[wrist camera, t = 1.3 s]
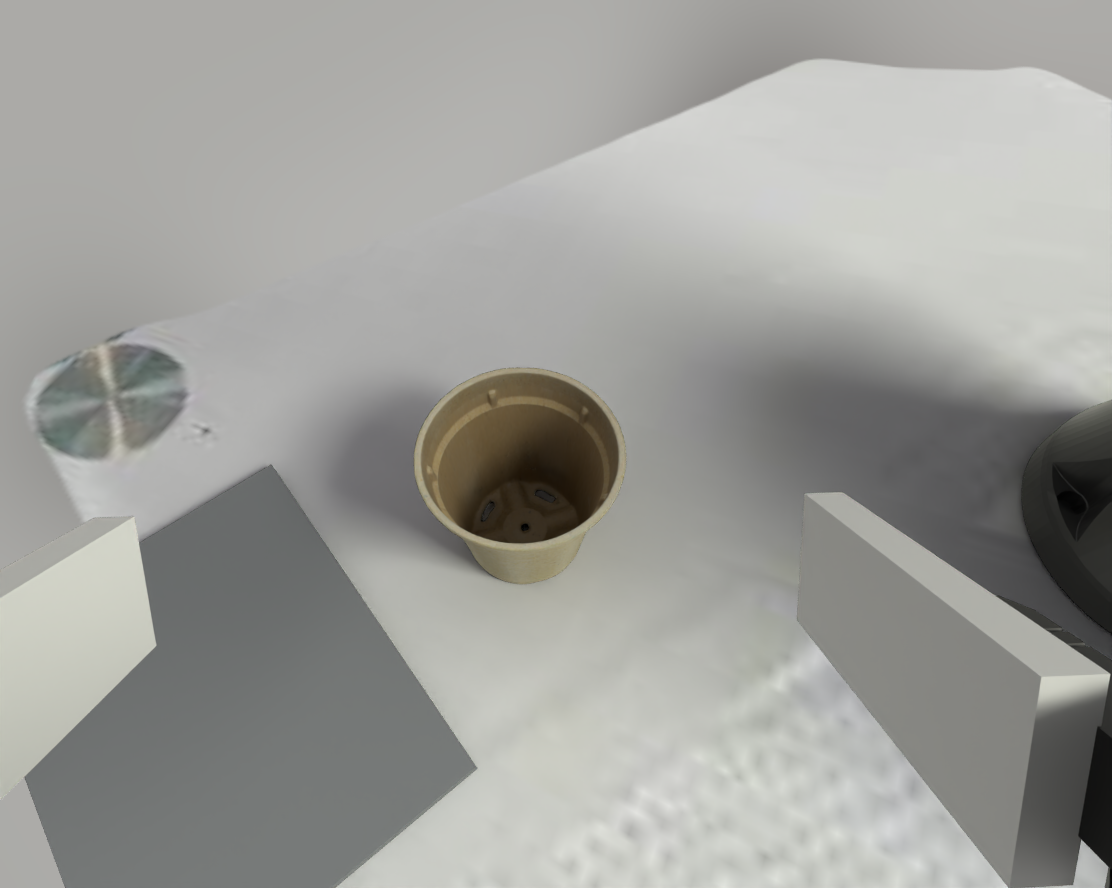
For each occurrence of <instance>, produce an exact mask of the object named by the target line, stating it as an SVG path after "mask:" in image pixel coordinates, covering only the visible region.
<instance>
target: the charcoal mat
mask: <svg viewBox="0 0 1112 888" xmlns="http://www.w3.org/2000/svg"><path fill="white" fill-rule="evenodd" d="M139 547H140V552H141V558H142V564H143V570H144V576H145V582H146V588H147V594H148V599H149V605H150V611H151V617H152V623H153V629H154V635H155V641H156V647H155V648H154V649H153V650H152V651H151V652H150V653H149V654H148V655H147V656H146V657H145V658H144V659H143V660H142V661H141V662H140V663H139V664H138V665H136V666H135V667H134V668H133V669H132V670H131V671H130V672H129V673H128V674H127V675H126V676H125V677H124V678H123V679H122V680H121V681H120V682H119V683H118V684H117V685H116V686H115V687H114V688H113V689H112V690H111V691H110V692H109V693H108V694H107V695H106V696H105V697H104V698H103V699H102V700H101V701H100V702H99V703H98V704H97V705H96V706H95V707H94V708H93V709H92V710H91V711H90V712H89V713H88V714H87V715H86V716H85V717H84V718H83V719H82V720H81V721H80V722H79V723H78V724H77V725H76V726H75V727H74V728H73V729H72V730H71V731H70V732H69V733H68V734H67V735H66V736H65V737H64V738H63V739H62V740H61V741H60V742H59V743H58V744H57V745H56V746H55V747H54V748H53V749H52V750H51V751H50V752H49V753H48V754H47V755H46V756H45V757H44V758H43V759H42V760H41V761H40V762H39V763H38V764H37V765H36V766H35V767H34V768H33V769H32V770H31V771H30V772H29V773H28V774H27V775H26V776H25V780H26V782H27V785H28V788H29V791H30V794H31V796H32V799H33V801H34V804H35V807H36V810H37V813H38V815H39V818H40V821H41V823H42V826H43V829H44V832H45V834H46V837H47V840H48V842H49V845H50V847H51V851H52V853H53V856H54V859H55V861H56V864H57V867H58V869H59V872H60V875H61V878H62V880H63V883H64V886H65V888H335V887H336V886H337V885H339V884H340V883H341V882H342V881H343V880H345V879H346V878H347V877H348V876H349V875H351V874H352V873H353V872H354V871H355V870H357V869H358V868H359V867H360V866H361V865H363V864H364V863H365V862H366V861H367V860H369V859H370V858H371V857H372V856H373V855H375V854H376V853H377V852H378V851H379V850H381V849H382V848H383V847H384V846H385V845H387V844H388V843H389V842H390V841H391V840H393V839H394V838H395V837H396V836H397V835H398V834H400V833H401V832H402V831H403V830H404V829H406V828H407V827H408V826H409V825H410V824H412V823H413V822H414V821H415V820H416V819H418V818H419V817H420V816H421V815H422V814H424V813H425V812H426V811H427V810H428V809H430V808H431V807H432V806H433V805H434V804H436V803H437V802H438V801H439V800H440V799H442V798H443V797H444V796H445V795H446V794H448V793H449V792H450V791H451V790H452V789H454V788H455V787H456V786H457V785H458V784H459V783H461V782H462V781H463V780H464V779H465V778H467V777H468V776H469V775H470V774H471V773H473V772H474V771H475V770H476V769H477V767H476V766H475V764H474V763H473V761H472V760H471V758H470V757H469V755H468V754H467V752H466V751H465V749H464V748H463V747H462V745H461V744H460V742H459V741H458V739H457V738H456V736H455V735H454V733H453V732H452V730H451V729H450V727H449V726H448V724H447V723H446V721H445V720H444V718H443V717H442V716H441V714H440V713H439V711H438V710H437V708H436V707H435V705H434V704H433V702H432V701H431V699H430V698H429V696H428V695H427V693H426V692H425V690H424V689H423V687H422V686H421V685H420V683H419V682H418V680H417V679H416V677H415V676H414V674H413V673H412V671H411V670H410V668H409V667H408V665H407V664H406V662H405V661H404V659H403V658H402V656H401V655H400V653H399V652H398V651H397V649H396V648H395V646H394V645H393V643H392V642H391V640H390V639H389V637H388V636H387V634H386V633H385V631H384V630H383V628H382V627H381V625H380V624H379V622H378V621H377V620H376V618H375V617H374V615H373V614H372V612H371V611H370V609H369V608H368V606H367V605H366V603H365V602H364V600H363V599H362V597H361V596H360V594H359V593H358V591H357V590H356V589H355V587H354V586H353V584H352V583H351V581H350V580H349V578H348V577H347V575H346V574H345V572H344V571H343V569H342V568H341V566H340V565H339V563H338V562H337V560H336V559H335V558H334V556H333V555H332V553H331V552H330V550H329V549H328V547H327V546H326V544H325V543H324V541H323V540H322V538H321V537H320V535H319V534H318V532H317V531H316V529H315V528H314V527H313V525H312V524H311V522H310V521H309V519H308V518H307V516H306V515H305V513H304V512H303V510H302V509H301V507H300V506H299V504H298V503H297V501H296V500H295V498H294V497H293V496H292V494H291V493H290V491H289V490H288V488H287V487H286V485H285V484H284V482H283V481H282V479H281V478H280V476H279V475H278V473H277V472H276V470H275V469H274V468H273V466H272V465H270V466H268V467H266V468H264V469H263V470H261V471H259V472H258V473H256V474H254V475H253V476H251V477H249V478H248V479H246V480H244V481H243V482H241V483H239V484H238V485H236V486H234V487H233V488H231V489H229V490H227V491H226V492H224V493H222V494H221V495H219V496H217V497H216V498H214V499H212V500H211V501H209V502H207V503H206V504H204V505H202V506H201V507H199V508H197V509H196V510H194V511H192V512H191V513H189V514H187V515H185V516H184V517H182V518H180V519H179V520H177V521H175V522H174V523H172V524H170V525H169V526H167V527H165V528H164V529H162V530H160V531H159V532H157V533H155V534H154V535H152V536H150V537H149V538H147V539H145V540H143V541H142V542H140V543H139Z"/></svg>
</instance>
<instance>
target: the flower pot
mask: <svg viewBox="0 0 1112 888" xmlns="http://www.w3.org/2000/svg"><path fill="white" fill-rule="evenodd" d="M625 447H626V446H625V441H624V437H623V434H622V431H621V428H620V426H619V423H618V421H617V420H616V418H615V416H614V415H613V413H612V411H611V410H610V409H609V407H608V406H607V405H606V404H605V403H604V401H603V400H602V399H601V398H600V397H599V396H598V395H597V394H596V393H595V392H593V391H592V390H591V389H589V388H588V387H587V386H585V385H583V384H582V383H580V382H578V381H576V380H574V379H572V378H570V377H568V376H565V375H563V374H559V373H556V372H552V371H548V370H544V369H538V368H518V367H517V368H507V369H506V368H504V369H498V370H494V371H490V372H487V373H483V374H481V375H478V376H476V377H473V378H471V379H469V380H467V381H466V382H464V383H461V384H459V385H458V386H457V387H455V388H454V389H452V390H451V391H450V392H449V393H448V394H447V395H446V396H444V397H443V398H442V399H441V400H440V401H439V402H438V403H437V404H436V405H435V407H434V408H433V409H432V410H431V412H430V413H429V415H428V416H427V418H426V419H425V421H424V423H423V425H422V427H421V429H420V431H419V434H418V437H417V440H416V445H415V450H414V475H415V478H416V483H417V486H418V489H419V491H420V494H421V496H422V498H423V500H424V502H425V503H426V505H427V507H428V508H429V510H430V511H431V512H432V514H433V515H434V516H435V517H436V518H437V519H438V520H439V522H441V523H442V524H443V525H444V526H445V527H446V528H447V529H448V530H450V531H451V532H452V533H454V534H455V535H457V536H459V537H460V538H462V539H464V541H465V542H466V544H467V546H468V547H469V549H470V550H471V552H472V554H473V556H474V557H475V559H476V560H477V562H478V563H479V564H480V565H481V566H482V567H483V568H484V569H485V570H486V571H487V572H488V573H490V574H491V575H493V576H495V577H497V578H499V579H501V580H504V581H506V582H511V583H516V584H529V583H534V582H538V581H542V580H545V579H548V578H551V577H553V576H556V575H557V574H559V573H560V572H561V571H563V570H564V569H565V568H566V567H567V566H568V565H569V564H570V563H571V561H572V560H573V559H574V557H575V556H576V554H577V552H578V550H579V547H580V544H581V542H582V540H583V538H584V535H585V533H586V531H588V530H589V529H590V528H591V527H593V526H594V525H595V524H596V523H597V522H598V521H599V520H600V519H601V518H602V517H603V516H604V515H605V514H606V512H607V511H608V510H609V509H610V507H611V506H612V504H613V502H614V501H615V499H616V497H617V495H618V493H619V491H620V488H621V485H622V482H623V478H624V474H625V468H626V449H625ZM537 490H543V491H545V492H547V493H548V494H549V495H551V496H553V497H554V498H555V499H556V500H554V502H552V503H551V502H548V501H546V500H544V499H542V498H540V497H538V496H535V492H536V491H537ZM490 502H494V504H495V508H494V509H493V510H492V511H491V512H490V514H489V516H488V518H487V519H486V521H481V519H482V514H483V512H484V510H485V508H486V506H487V505H488V504H489V503H490ZM523 524H528V526H529V529H528V530H527V531H522V529H521V526H522V525H523Z"/></svg>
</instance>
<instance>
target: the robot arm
mask: <svg viewBox="0 0 1112 888" xmlns="http://www.w3.org/2000/svg"><path fill="white" fill-rule="evenodd" d="M1022 508H1023V513H1024V518H1025V522H1026V526H1027V529H1028V532H1029V535H1030V537H1031V540H1032V542H1033V544H1034V546H1035V548H1036V550H1037V552H1038V554H1039V556H1040V558H1041V560H1042V561H1043V563H1044V565H1045V566H1046V568H1047V569H1048V571H1049V572H1050V574H1051V575H1052V576H1053V578H1054V579H1055V580H1056V582H1057V583H1058V584H1059V585H1060V587H1061V588H1062V589H1063V590H1064V591H1065V593H1066V594H1067V595H1068V596H1069V597H1070V598H1071V599H1072V600H1073V601H1074V602H1075V603H1076V604H1077V605H1078V606H1079V607H1080V608H1081V609H1082V610H1083V611H1084V612H1085V613H1086V614H1088V615H1089V616H1090V617H1091V618H1092V619H1093V620H1094V621H1096V622H1097V623H1098V624H1100V625H1101V626H1102V627H1103V628H1105V629H1106V630H1107V631H1109V632H1110V633H1112V400H1109V401H1107V402H1104V403H1101V404H1098V405H1096V406H1093V407H1091V408H1088V409H1086V410H1084V411H1083V412H1081V413H1079V414H1077V415H1076V416H1074V417H1072V418H1071V419H1070V420H1068V421H1067V422H1066V423H1064V424H1063V425H1062V426H1061V427H1060V428H1059V429H1058V430H1056V431H1055V432H1054V433H1053V434H1052V435H1051V436H1050V437H1048V438H1047V439H1046V440H1045V441H1044V442H1043V443H1042V444H1041V445H1040V446H1039V447H1038V448H1037V449H1036V451H1035V452H1034V453H1033V455H1032V457H1031V458H1030V460H1029V462H1028V465H1027V467H1026V470H1025V473H1024V477H1023V483H1022ZM797 621H798V622H799V623H800V624H801V626H802V627H803V628H804V630H805V631H806V632H807V633H808V635H809V636H810V637H811V638H812V640H813V641H814V642H815V643H816V645H817V646H818V647H819V648H820V650H821V651H822V652H823V654H824V655H825V656H826V657H827V659H828V660H829V661H830V662H831V664H832V665H833V666H834V667H835V669H836V670H837V671H838V673H839V674H840V675H841V676H842V678H843V679H844V680H845V681H846V683H847V684H848V685H849V686H850V688H851V689H852V690H853V691H854V693H855V694H856V695H857V697H858V698H859V699H860V700H861V702H862V703H863V704H864V705H865V707H866V708H867V709H868V710H869V712H870V713H871V714H872V716H873V717H874V718H875V719H876V721H877V722H878V723H879V724H880V726H881V727H882V728H883V729H884V731H885V732H886V733H887V734H888V736H889V737H890V738H891V740H892V741H893V742H894V743H895V745H896V746H897V747H898V748H899V750H900V751H901V752H902V753H903V755H904V756H905V757H906V759H907V760H908V761H909V762H910V764H911V765H912V766H913V767H914V769H915V770H916V771H917V772H918V774H919V775H920V776H921V777H922V779H923V780H924V781H925V783H926V784H927V785H928V786H929V788H930V789H931V790H932V791H933V793H934V794H935V795H936V796H937V798H938V799H939V800H940V802H941V803H942V804H943V805H944V807H945V808H946V809H947V810H948V812H949V813H950V814H951V815H952V817H953V818H954V819H955V820H956V822H957V823H958V824H959V826H960V827H961V828H962V829H963V831H964V832H965V833H966V834H967V836H968V837H969V838H970V839H971V841H972V842H973V843H974V845H975V846H976V847H977V848H978V850H979V851H980V852H981V853H982V855H983V856H984V857H985V858H986V860H987V861H988V862H989V863H990V865H991V866H992V867H993V869H994V870H995V871H996V872H997V874H998V875H999V876H1000V877H1001V879H1002V880H1003V881H1004V882H1005V884H1006V885H1007V886H1008V888H1026V887H1044V886H1063V885H1073V882H1074V877H1075V871H1076V865H1077V860H1078V854H1079V849H1080V843H1081V839H1082V840H1083V841H1084V842H1085V843H1086V844H1087V845H1088V846H1089V847H1090V848H1091V849H1092V850H1093V851H1094V853H1095V854H1096V855H1097V856H1098V857H1099V858H1100V859H1101V860H1102V861H1103V862H1104V863H1105V864H1106V865H1107V866H1108V867H1109V868H1108V873H1107V879H1106V884H1105V888H1112V660H1110V659H1109V658H1107V657H1105V656H1104V655H1102V654H1101V653H1099V652H1098V651H1096V650H1095V649H1093V648H1092V647H1086V646H1085V643H1084V642H1083V641H1081V640H1079V639H1078V638H1076V637H1075V636H1073V635H1072V634H1070V633H1069V632H1063V631H1062V628H1061V627H1060V626H1058V625H1057V624H1055V623H1053V622H1052V621H1050V620H1049V619H1047V618H1046V617H1044V616H1043V615H1041V614H1040V613H1038V612H1037V611H1035V610H1033V609H1030V608H1028V607H1026V606H1023V605H1021V604H1018V603H1016V602H1013V601H1011V600H1008V599H1006V598H1003V597H1001V596H995V595H993V594H992V593H990V592H989V591H987V590H986V589H985V588H983V587H982V586H980V585H979V584H977V583H976V582H974V581H973V580H971V579H970V578H968V577H967V576H965V575H964V574H962V573H961V572H959V571H958V570H956V569H955V568H954V567H952V566H951V565H949V564H948V563H946V562H945V561H943V560H942V559H940V558H939V557H937V556H936V555H934V554H933V553H931V552H930V551H928V550H927V549H926V548H924V547H923V546H921V545H920V544H918V543H917V542H915V541H914V540H912V539H911V538H909V537H908V536H906V535H905V534H903V533H902V532H900V531H899V530H897V529H896V528H895V527H893V526H892V525H890V524H889V523H887V522H886V521H884V520H883V519H881V518H880V517H878V516H877V515H875V514H874V513H872V512H871V511H869V510H868V509H867V508H865V507H864V506H862V505H861V504H859V503H858V502H856V501H855V500H853V499H852V498H850V497H849V496H847V495H846V494H844V493H843V492H831V493H805V494H804V510H803V527H802V543H801V559H800V575H799V591H798V608H797ZM155 647H156V641H155V635H154V629H153V623H152V617H151V611H150V605H149V599H148V594H147V588H146V582H145V576H144V570H143V564H142V558H141V552H140V547H139V541H138V535H137V529H136V523H135V517H134V516H133V517H104V518H93V519H91V520H89V521H87V522H86V523H84V524H82V525H80V526H78V527H76V528H75V529H73V530H71V531H69V532H67V533H66V534H64V535H62V536H60V537H58V538H57V539H55V540H53V541H51V542H49V543H48V544H46V545H44V546H42V547H40V548H39V549H37V550H35V551H33V552H31V553H30V554H28V555H26V556H24V557H22V558H21V559H19V560H17V561H15V562H13V563H12V564H10V565H8V566H6V567H4V568H3V569H1V570H0V801H1V800H2V799H3V798H4V797H5V796H6V794H8V793H9V791H11V790H12V789H13V788H14V787H15V786H16V785H17V784H18V783H19V782H20V781H21V780H22V779H23V778H24V777H25V776H26V775H27V774H28V773H29V772H30V771H31V770H32V769H33V768H34V767H35V766H36V765H37V764H38V763H39V762H40V761H41V760H42V759H43V758H44V757H45V756H46V755H47V754H48V753H49V752H50V751H51V750H52V749H53V748H54V747H55V746H56V745H57V744H58V743H59V742H60V741H61V740H62V739H63V738H64V737H65V736H66V735H67V734H68V733H69V732H70V731H71V730H72V729H73V728H74V727H75V726H76V725H77V724H78V723H79V722H80V721H81V720H82V719H83V718H84V717H85V716H86V715H87V714H88V713H89V712H90V711H91V710H92V709H93V708H94V707H95V706H96V705H97V704H98V703H99V702H100V701H101V700H102V699H103V698H104V697H105V696H106V695H107V694H108V693H109V692H110V691H111V690H112V689H113V688H114V687H115V686H116V685H117V684H118V683H119V682H120V681H121V680H122V679H123V678H124V677H125V676H126V675H127V674H128V673H129V672H130V671H131V670H132V669H133V668H134V667H135V666H136V665H138V664H139V663H140V662H141V661H142V660H143V659H144V658H145V657H146V656H147V655H148V654H149V653H150V652H151V651H152V650H153V649H154V648H155Z"/></svg>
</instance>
